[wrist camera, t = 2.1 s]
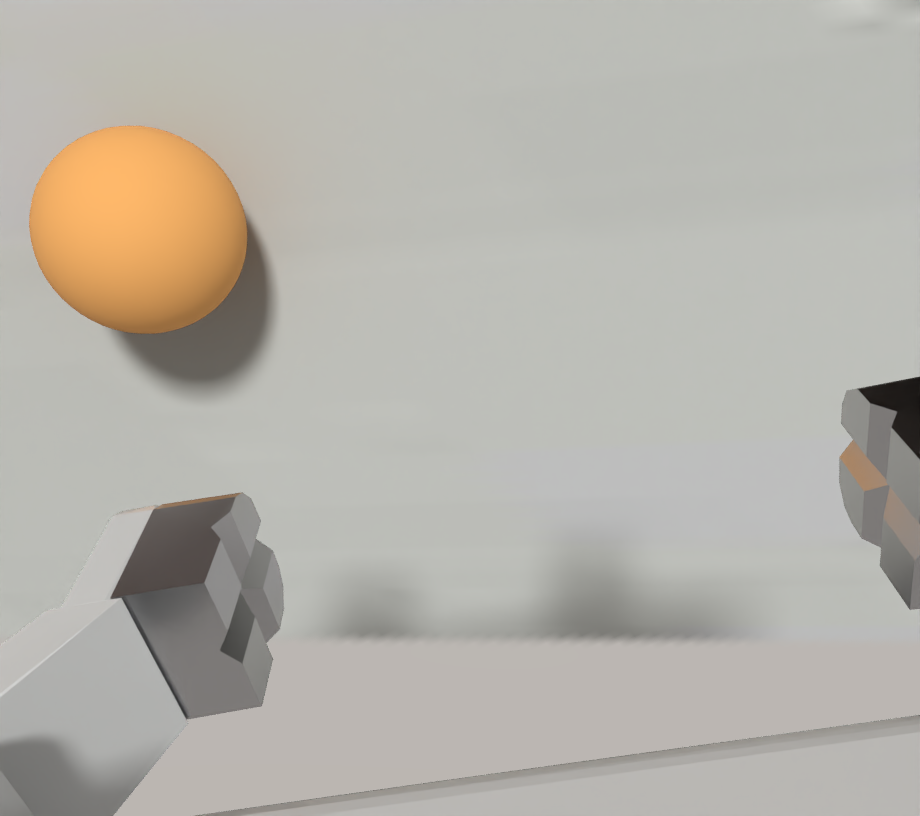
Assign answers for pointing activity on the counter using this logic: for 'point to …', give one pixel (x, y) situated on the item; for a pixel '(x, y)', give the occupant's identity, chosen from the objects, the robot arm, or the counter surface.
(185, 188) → the ball
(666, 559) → the counter surface
